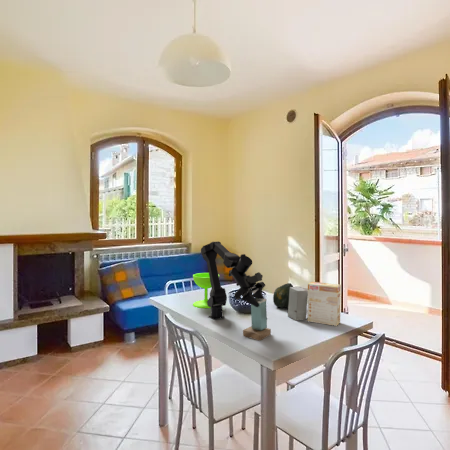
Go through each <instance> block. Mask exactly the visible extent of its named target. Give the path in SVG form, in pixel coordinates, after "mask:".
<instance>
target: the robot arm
mask: <svg viewBox="0 0 450 450" xmlns="http://www.w3.org/2000/svg"><path fill="white" fill-rule="evenodd" d="M200 254H201V257H202V259H203V260H204V261H205V263H206V266H207V272H208V273H209V277H210V282H211V288H210V291H209V297H208V301H207V305H208V306H209V307H211V308H210V315H208V316H207V317H208V318H210V319H213V320H221V319H224V318H225V315H223V312H224V309H223V306H224V307H225V306H226V305H227V299H228V296H227V293H226V292H227V290H226V289H225V288H223V287H222V286H221V280H220V274H219V272H218V265H217V262H216V259H217V256H219V257H220V258H221V259H222V260H223V265H224V266H225V267H226V268H227V269H231V270H229V271H228V277H229V278H230V277H232V278H233V279H234V281H235V282H236V283H235V285H236V287H238V286H239V288H238V289H237V290H236V292H234V295H233V296H234V298H235V300H236V301H238V300H241V301H244V302H246V303H249V304H250V305H251V304H252V305H254V306H255V307H258V306H259V305H258V303H257V302H256V300H255V298H263V299H265V298H264V296H263V289H264V288H265V287H266V284H265V283H264V282H263V274H262V273H261V272H256V273H255V274H254V275H252V276H250V275H247V274H246V273H247V272H248V271H249V269H250V268H251V266H252V265H253V260H252V259H251V257H249V256H247V255H246V254H245V253H243V254H241V255H240V256H239V255H238V254H236V253H233V252H230V250H228V249H227V248H226V247H225V246H224V245H223V244H222V243H221V242H220V241H210V243H208V244H205V245H202V247H200ZM218 274H219V275H218Z"/></svg>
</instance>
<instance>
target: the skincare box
mask: <svg viewBox="0 0 450 450" xmlns="http://www.w3.org/2000/svg"><path fill="white" fill-rule="evenodd" d="M287 309H288V310H287V317H289V318H291V319H292V320H294V321H297V322H298V321H306V320H307V313H308V289H305V288H303V287H300V286H293V287H290V292H289V306H288V307H287Z"/></svg>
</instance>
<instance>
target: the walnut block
mask: <svg viewBox="0 0 450 450" xmlns="http://www.w3.org/2000/svg"><path fill="white" fill-rule="evenodd" d="M271 333H272V331H271V328H268V327H267V328H265V329H263V330H262V331H260V330H256V329H252V325H251V326H249V327H246V328H244V329H243V330H242V337H246V338H250V339H254V340H257V341H262V340H263V339H266V338H268V337H270V336H271V335H272V334H271Z"/></svg>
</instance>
